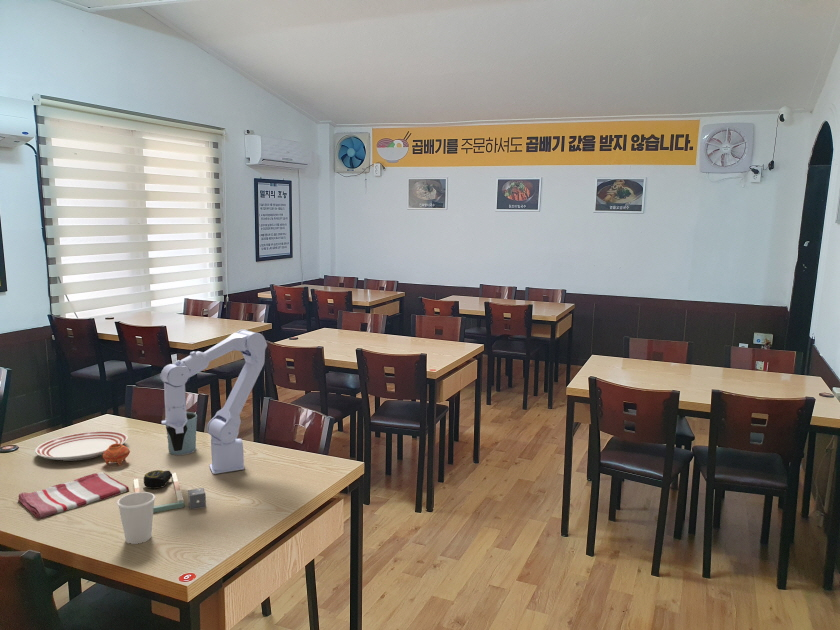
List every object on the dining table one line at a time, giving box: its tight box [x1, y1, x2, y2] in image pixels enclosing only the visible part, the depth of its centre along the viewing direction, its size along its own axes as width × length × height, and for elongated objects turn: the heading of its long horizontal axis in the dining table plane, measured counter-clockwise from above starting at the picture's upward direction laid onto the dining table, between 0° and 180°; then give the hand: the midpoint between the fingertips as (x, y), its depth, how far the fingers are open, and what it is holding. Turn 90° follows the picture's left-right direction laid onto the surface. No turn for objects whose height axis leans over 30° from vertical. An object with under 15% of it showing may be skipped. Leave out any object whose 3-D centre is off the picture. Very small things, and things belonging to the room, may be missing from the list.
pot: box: [102, 444, 131, 467], centre depth 199 cm, size 8×8×7 cm
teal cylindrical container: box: [164, 411, 198, 456], centre depth 210 cm, size 10×10×12 cm
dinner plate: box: [34, 430, 129, 462], centre depth 210 cm, size 27×27×3 cm
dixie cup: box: [116, 491, 156, 545], centre depth 151 cm, size 8×8×10 cm
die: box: [187, 487, 207, 511], centre depth 170 cm, size 4×4×4 cm
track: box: [133, 472, 185, 514], centre depth 176 cm, size 12×23×1 cm, turn 26°
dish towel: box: [18, 471, 130, 519], centre depth 175 cm, size 17×23×3 cm
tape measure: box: [143, 469, 172, 489], centre depth 183 cm, size 7×7×4 cm
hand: (177, 450), depth 185 cm, fingers closed
